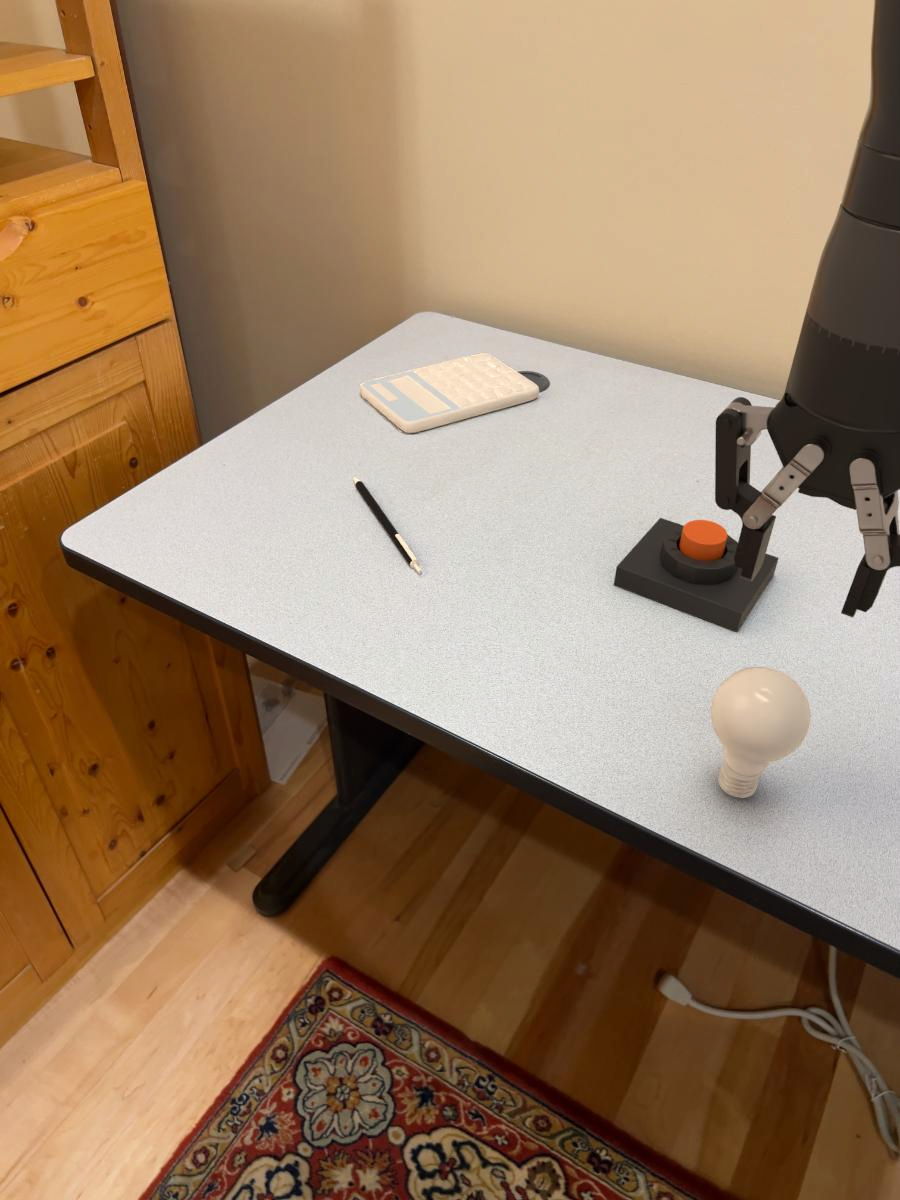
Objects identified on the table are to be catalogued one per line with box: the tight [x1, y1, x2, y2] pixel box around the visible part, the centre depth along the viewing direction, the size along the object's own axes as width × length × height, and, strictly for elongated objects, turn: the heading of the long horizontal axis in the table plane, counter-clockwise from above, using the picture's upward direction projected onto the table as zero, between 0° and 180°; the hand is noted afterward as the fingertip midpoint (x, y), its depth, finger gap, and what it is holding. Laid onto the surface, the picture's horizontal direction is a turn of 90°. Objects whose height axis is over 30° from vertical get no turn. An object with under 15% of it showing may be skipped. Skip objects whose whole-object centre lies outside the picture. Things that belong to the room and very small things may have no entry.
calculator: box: [358, 352, 540, 434], centre depth 113 cm, size 13×20×2 cm, turn 121°
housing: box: [613, 517, 779, 633], centre depth 82 cm, size 12×10×4 cm
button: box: [679, 519, 729, 561], centre depth 81 cm, size 4×4×2 cm
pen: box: [352, 476, 423, 575], centre depth 90 cm, size 1×19×1 cm, turn 25°
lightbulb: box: [710, 666, 812, 799], centre depth 61 cm, size 6×6×11 cm
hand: (800, 589), depth 53 cm, fingers open, 5 cm apart
